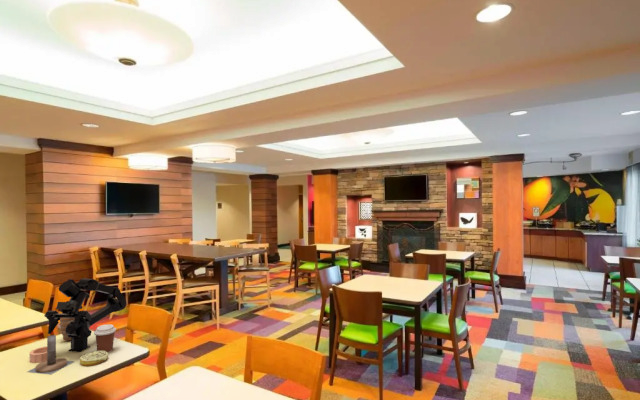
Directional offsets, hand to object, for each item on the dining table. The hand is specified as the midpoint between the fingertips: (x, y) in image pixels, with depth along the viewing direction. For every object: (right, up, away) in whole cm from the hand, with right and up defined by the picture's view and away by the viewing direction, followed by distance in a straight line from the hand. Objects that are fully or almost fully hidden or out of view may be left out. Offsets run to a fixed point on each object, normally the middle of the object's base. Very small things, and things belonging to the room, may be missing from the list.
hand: (59, 333), depth 159 cm
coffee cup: (+14, -13, +12) cm, 22 cm away
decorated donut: (+15, -13, +1) cm, 20 cm away
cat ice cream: (-13, -13, +24) cm, 30 cm away
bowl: (-10, -13, +3) cm, 16 cm away
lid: (0, -13, -4) cm, 13 cm away
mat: (0, -13, -4) cm, 14 cm away
